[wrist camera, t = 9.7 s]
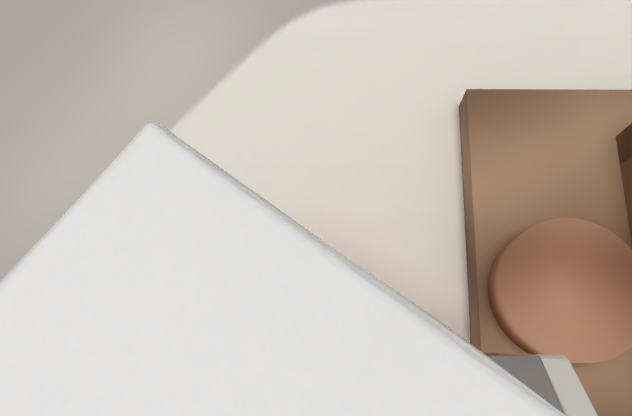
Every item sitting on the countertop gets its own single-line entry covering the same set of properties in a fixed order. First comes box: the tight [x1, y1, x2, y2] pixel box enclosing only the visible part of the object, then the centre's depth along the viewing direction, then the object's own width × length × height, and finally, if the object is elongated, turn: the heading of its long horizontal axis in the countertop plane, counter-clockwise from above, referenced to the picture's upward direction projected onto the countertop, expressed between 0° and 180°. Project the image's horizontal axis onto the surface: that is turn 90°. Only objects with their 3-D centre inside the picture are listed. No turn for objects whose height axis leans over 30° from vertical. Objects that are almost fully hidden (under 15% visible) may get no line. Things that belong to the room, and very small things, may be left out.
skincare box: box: [0, 122, 566, 416], centre depth 10 cm, size 6×4×12 cm
